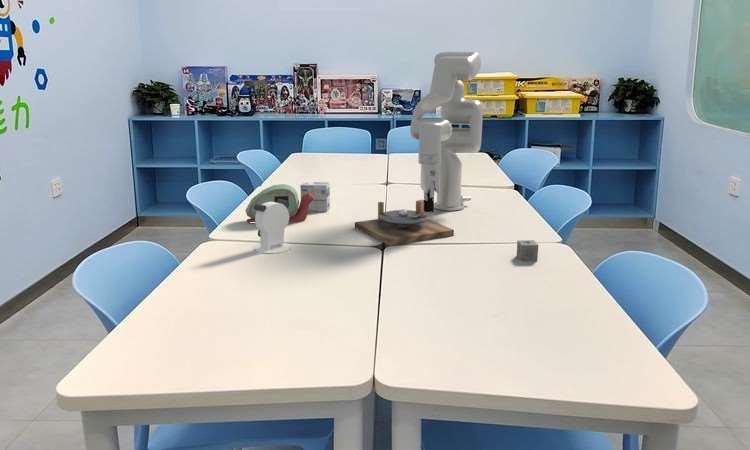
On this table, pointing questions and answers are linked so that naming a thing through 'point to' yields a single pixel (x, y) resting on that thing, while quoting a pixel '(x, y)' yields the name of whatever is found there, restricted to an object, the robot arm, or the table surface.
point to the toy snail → (285, 194)
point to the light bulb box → (317, 195)
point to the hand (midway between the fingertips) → (428, 211)
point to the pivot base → (402, 230)
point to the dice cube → (527, 250)
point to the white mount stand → (272, 226)
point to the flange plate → (403, 219)
